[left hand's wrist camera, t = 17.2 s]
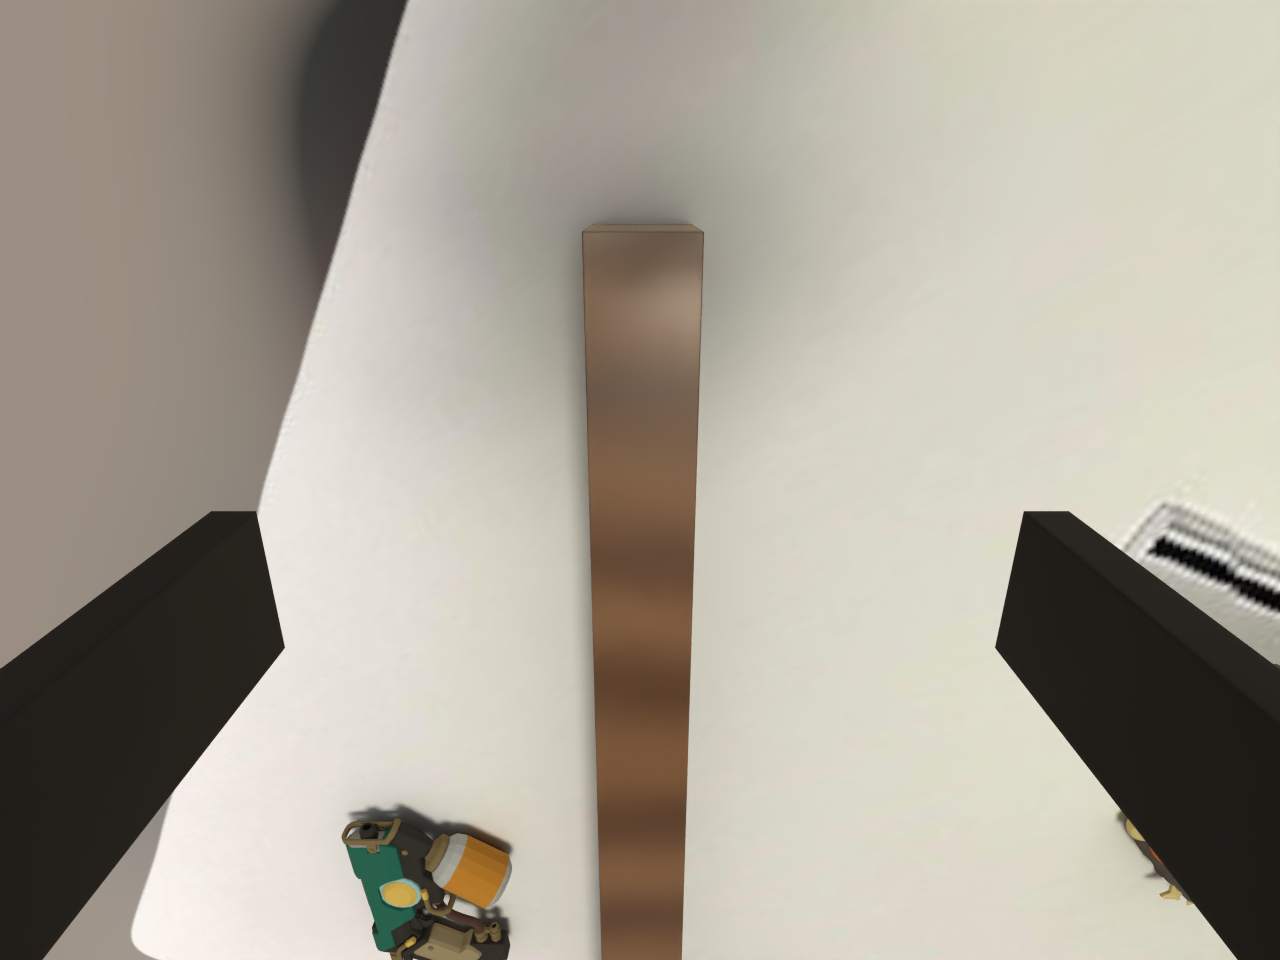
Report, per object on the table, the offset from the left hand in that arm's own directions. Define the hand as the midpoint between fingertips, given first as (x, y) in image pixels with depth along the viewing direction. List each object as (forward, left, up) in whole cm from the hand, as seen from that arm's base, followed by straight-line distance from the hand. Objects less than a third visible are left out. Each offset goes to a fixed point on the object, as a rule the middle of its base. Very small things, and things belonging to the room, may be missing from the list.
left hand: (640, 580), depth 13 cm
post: (+30, +14, -35) cm, 48 cm away
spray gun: (+52, +4, -35) cm, 62 cm away
